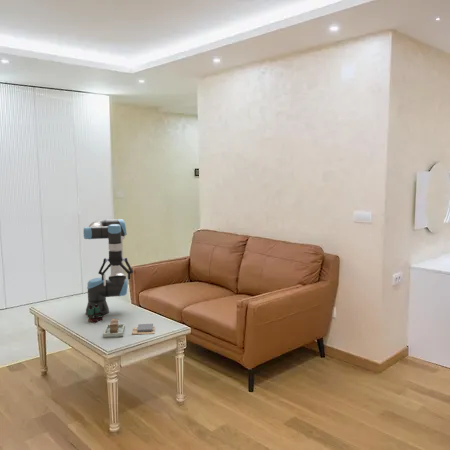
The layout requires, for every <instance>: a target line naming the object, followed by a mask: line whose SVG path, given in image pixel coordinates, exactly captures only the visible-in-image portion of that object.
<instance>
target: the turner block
mask: <svg viewBox="0 0 450 450" xmlns="http://www.w3.org/2000/svg"><path fill="white" fill-rule="evenodd" d="M109 323H110V324H109V325H110V333H118V324H119V318H111V320H110V321H109Z"/></svg>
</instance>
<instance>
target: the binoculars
mask: <svg viewBox="0 0 450 450" xmlns="http://www.w3.org/2000/svg"><path fill="white" fill-rule="evenodd" d="M89 307H90V308H89V309H88V315H87V318H88V322H91V323H97V322H101V321H103V320H104V319H103V318H104V317H105V316H104V315H105V314H103V313H100V309H99V306H98V303H96V304H95V307H93V306H92V305H89ZM92 307H93V308H92ZM100 314H101V315H100Z"/></svg>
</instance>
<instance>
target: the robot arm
mask: <svg viewBox="0 0 450 450" xmlns="http://www.w3.org/2000/svg"><path fill="white" fill-rule="evenodd" d="M125 236H127V227H126V222H125V220H124V219H122V218H109V219H107V218H106V219H98V220H95V221H92V222H91V223H90V224H89V225H88V226H84V227H83V238H84V239H85V240H96V239H97V240H99V239H100V240H101V239H107V240H108V250H109V251H108V258H106V257H105V258H103V262H102V265H101V267H100V268H99V271H98V275H101V276H99V277H95V278H92V279H90V280H88V281H87V287H86V289H87V305H86V308H85V315H87V316H88V309H89V308H90V307H89V305H92V306H93V307H95V304H96V303H98V306H99V309H100V313H103V314H104V315H107V314H108V313H110V308H109V305H108V303H107V298H111V297H112V298H113V297H124V296H125V297H126V295H127V294H128V285H129V281H130V280H131V274H133V273H134V270H133V268H132V267H131V265H130V263H129V260H128V257H125V258H124V249H123V248H124V245H123V242H124V241H123V240H124V239H125ZM106 263H108V265H107V267H106V268H105V269H104V267H105V265H106ZM124 263H125V264H126V266H127V267H126V266H125V265H124ZM103 269H104V270H103ZM109 269H110V275H109V276H108V279H106V272H107V271H108V270H109ZM124 271H125V272H126V274H124V273H125V272H124ZM93 307H92V308H93ZM99 316H102V315H101V314H100V315H99Z"/></svg>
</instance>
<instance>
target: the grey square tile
mask: <svg viewBox="0 0 450 450" xmlns="http://www.w3.org/2000/svg"><path fill="white" fill-rule="evenodd" d="M137 327H138V328H137ZM137 327H136V328H137V332H146V331H153V327H154V323H138V325H137Z"/></svg>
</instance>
